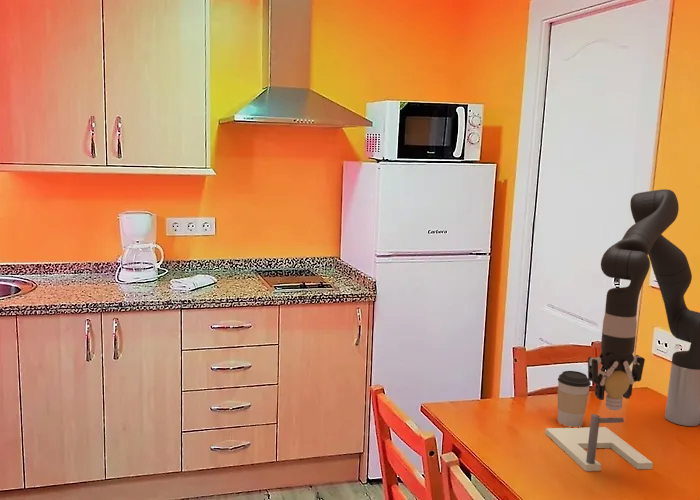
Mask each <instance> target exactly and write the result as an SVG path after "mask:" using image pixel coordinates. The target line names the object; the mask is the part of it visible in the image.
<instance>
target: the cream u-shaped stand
mask: <svg viewBox="0 0 700 500" xmlns="http://www.w3.org/2000/svg"><path fill="white" fill-rule="evenodd" d="M624 421H625V420H624V417H601V416H600V415H599V414H595V413H593V414H591V415H590V422H589V423H590V424H589V426H588V427H587V426H586V427H579V428H571V427H555V428H553V427H546V428H545V430H544V431H545V432H544V433H545V436H547V437H548V438H549V437H550V438H551V439H552V440H553V441H554V442H553V443H554V444H555V445H556V446H558V447H559V448H560V449H561V450H562V451H563V452H564V451H565V452H564V453H565V454H567V456H568V457H569V458H571V459H572V460H573V462H575V463H576V464H577V465H578V466H579V467H580V468H581V469H583V470H584V471H585V472H600V471H601V469H602V468H601V467H602V464H601V463H600V462H599V461H598V460H596V456H597V449H596V448H605V449H612V450H613V451H614V452H616V454H617V455H619V456H620V457H621V458H623V459H624V460H625V461H627V462H628V463H629V464H630V465H631V466H632V467H634V468H635V469H637V470H652V469H653V464H654V463H653V461H651V460H649V459H648V458H647V457H646V456H644V455H643V454H642V453H641V452H639V451H638V450H637V449H635V448H634V447H633V446H631V445H630V444H629V443H627V442H626V441H624V440H623V439H622V438H621V437H619V436H618V435H617V434H616V433H614V432H613V431H612V430H610V429H609V428H608V427H606V426H600V424H612V423H613V424H615V423H616V424H617V423H620V424H621V423H624ZM550 438H549V439H550ZM551 439H550V440H551ZM552 440H551V441H552ZM586 448H587V449H586ZM586 450H587V451H586Z"/></svg>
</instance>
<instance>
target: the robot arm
mask: <svg viewBox="0 0 700 500" xmlns="http://www.w3.org/2000/svg"><path fill="white" fill-rule="evenodd" d="M629 204H630V211H631V216H632V218H633V220H634V223H635V224H633V225H631V226H630V227H629V228H628V229H627V230H626V232H625V233H624V235H623V237H622V238H621V240H619V241H617V242H616V243H614V244H613V245H611V246H609V248H607V249H606V251H605V252H604V253H603V255H602V258H601V260H600V269H601V272H602V273H603V274H604V275H605V276H606V277H608V278H610V279H618V280H627V281H630V283H629V285H628V286H624V287H613V288H610V289H608V290H607V292H606V298H605V299H606V300H605V308H604V309H605V310H604V315H603V316H604V317H603V321H602V329H601V330H602V331H601V341H600V342H601V343H600V349H601V351H600V355H599V357H598V356H597V357H592V356H589V357H588V358H587V378H588V379H589V380H590V382H592V383H593V384H595V386H594V387H595V389H594V396H595V397H596V398H597V399H598V400H599V401H604V400H605V393H606V391H605V386H604V384H605V382H606V379H607V378H610V376H611V375H612V373H613V372H614V371H623V372H625V373H626V374H627V375H628V376H629V380H630V385H629V388H628V390H627V391H626V392H625V393H624V394H623V395H622V398H624V399H625V400H626V399H630V398H631V396H632V393H633V384H634V383H636V382H640V381H641V380H642V378H643V377H642V376H643V370H644V366H645V361H646V359H645V358H644V357H642V356H640V355H638V354H635V355H634V353H635V347H636V337H637V335H636V334H637V328H638V327H637V325H638V324H637V323H638V322H637V315H638V313H637V312H638V304H639V298H640V292H641V290H642V287H643V284H644V282H645V280H646V278H647V275H648V273H649V270H650V268H651V267H652V268H651V269H652V271H653V274H654V277H655V280H656V282H657V285H658V288H659V290H660V294H661V297H662V298H661V299H662V301H663V305H664V308H665V315H666V318H667V325H668V327H669V330H670V333H671V335H672V336H673V337H674V338H676V339H678V340H679V341H684V342H687V343H690V345H689V349H688V350H681V351H680V350H679V351H675V352H673V354H672V358H671V366H670V374H669V382H668V388H667V390H668V391H667V398H666V405H665V412H664V413H665V414H664V418H665V419H666V420H667V421H669V422H670V423H673V424H676V425H680V426H686V427H696V426H699V425H700V312H698V311H695V310H690V308H688V307H687V304H686V302H685V294H686V292H687V291H688V289H689V287H690V285H691V282H692V280H693V279H692V277H693V274H692V270H691V267H690V263H689V260H688V258H687V256H686V254H685V253H684V252H683V250H682V249H681V248H680V247H678V246H677V245H675V244H674V243H673V242H671V241H670V240H669V239H667V238H666V237H665V236H664V235H663V233H664V232H665V231H666V230H668V228H669V227H670V226H671V225H672V224H673V223H674V222H675V221H676V220H677V218H678V216H679V215H678V214H679V210H680V209H679V201H678V197H677V195H676V193H675V192H674V191H673V190H671V189H667V188H666V189H665V188H664V189H657V190H656V189H655V190H650V191H648V190H647V191H642V192H638V193H635V194H633V195H632V196H631V198H630V203H629ZM650 266H651V267H650ZM600 364H601V365H600ZM631 364H632V368H630V366H631ZM605 371H607V372H606V373H605Z"/></svg>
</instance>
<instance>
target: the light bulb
mask: <svg viewBox="0 0 700 500" xmlns="http://www.w3.org/2000/svg"><path fill="white" fill-rule="evenodd" d="M606 372H607V371H606V370H605V373H606ZM629 385H630V380H629V376H628V375H627V374H626V373H625V372H623V371H614V372H613V373H612V375H611V376H610V378H607V379H606V382H605V384H604V386H605V393H606V396H605V398H606V399H605V407H606V408H607V409H609V410H610V411H620V410H622V408H623V398H624V397H623V396H622V395H623V394H624V393H625V392H626V391H627V390H628V388H629Z"/></svg>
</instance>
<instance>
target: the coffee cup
mask: <svg viewBox="0 0 700 500" xmlns="http://www.w3.org/2000/svg"><path fill="white" fill-rule="evenodd" d="M557 381H558V384H557V386H558V387H557V423H558V422H560V423H561V424H563V425H566V426H571V427H579V426H581V425H582V426H583V422H584V417H585V413H586V409H587V405H588V398H589V394H590V391H589V390H590V386H591V385H592V384H591V381H590V380H589V379H588V375H587V374H585V373H583V372H581V371H577V370H565V371H563V372H562V373H561V374H559V375H558V378H557ZM561 424H560V425H561ZM563 425H562V426H563ZM566 426H565V427H566ZM582 426H581V427H582ZM571 427H570V428H571ZM579 428H580V427H579Z"/></svg>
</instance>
